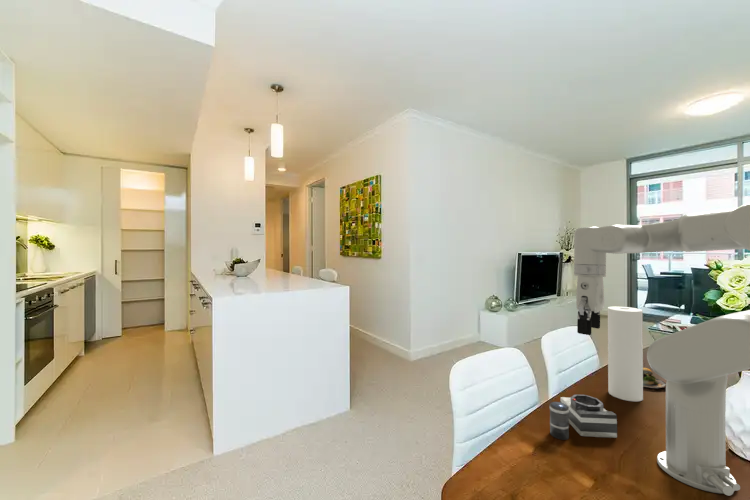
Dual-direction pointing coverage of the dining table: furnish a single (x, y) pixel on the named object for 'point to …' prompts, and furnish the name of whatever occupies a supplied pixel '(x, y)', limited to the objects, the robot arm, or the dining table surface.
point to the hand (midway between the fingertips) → (588, 330)
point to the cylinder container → (625, 353)
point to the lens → (559, 420)
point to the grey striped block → (590, 416)
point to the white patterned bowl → (651, 380)
